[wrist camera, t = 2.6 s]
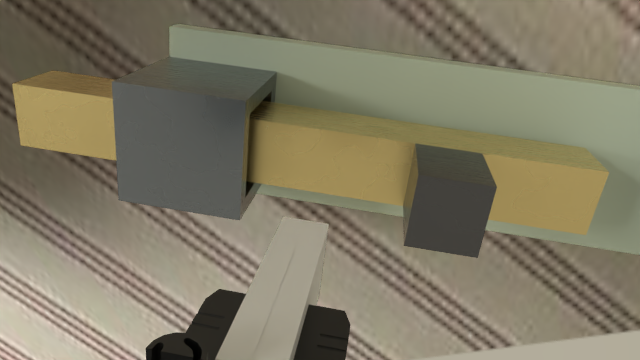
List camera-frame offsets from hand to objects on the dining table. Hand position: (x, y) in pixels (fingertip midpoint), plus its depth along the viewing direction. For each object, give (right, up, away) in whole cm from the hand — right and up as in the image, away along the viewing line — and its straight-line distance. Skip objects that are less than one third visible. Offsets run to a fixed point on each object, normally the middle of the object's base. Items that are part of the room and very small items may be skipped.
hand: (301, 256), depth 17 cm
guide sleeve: (-5, +6, +12) cm, 14 cm away
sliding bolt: (0, +5, +10) cm, 11 cm away
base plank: (+8, +5, +12) cm, 15 cm away
